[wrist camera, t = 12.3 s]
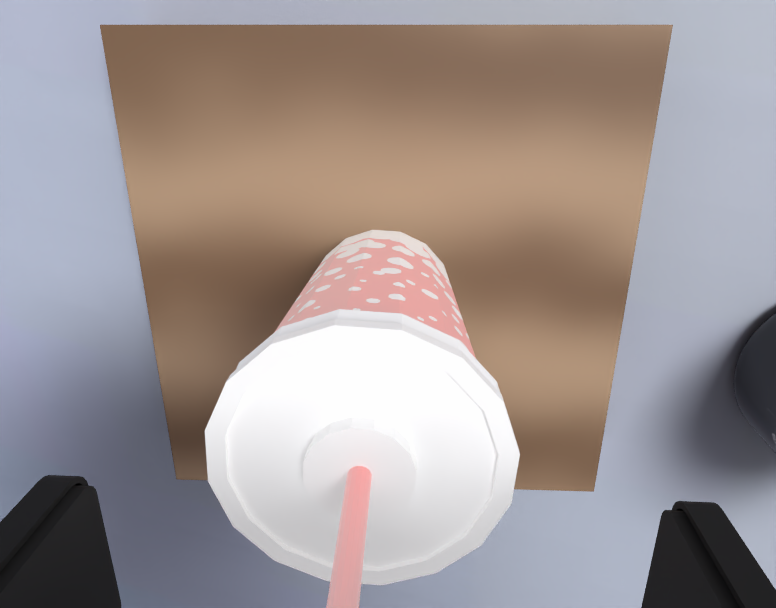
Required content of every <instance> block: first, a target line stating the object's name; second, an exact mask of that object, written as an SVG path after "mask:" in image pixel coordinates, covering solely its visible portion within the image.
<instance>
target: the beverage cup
mask: <svg viewBox="0 0 776 608" xmlns="http://www.w3.org/2000/svg"><path fill="white" fill-rule="evenodd" d="M205 444H206V459H207V474H208V482H209V484H210V486H211V488H212V490H213V491H214V493H215V495H216V497H217V499H218V500H219V502H220V504H221V506H222V508H223V509H224V511H225V513H226V515H227V517H228V518H229V520H230V522H231V524H232V526H233V527H234V528H235V529H237V530H238V531H239V532H240V533H241V534H243V535H244V536H245V537H246V538H248V539H249V540H250V541H251V542H252V543H254V544H255V545H256V546H257V547H258V548H260V549H261V550H262V551H263V552H264V553H266V554H267V555H268V556H269V557H270V558H272V559H273V560H274V561H276V562H279V563H281V564H284V565H286V566H289V567H292V568H294V569H297V570H299V571H302V572H304V573H307V574H309V575H312V576H315V577H317V578H320V579H322V580H325V581H330V587H329V593H328V600H327V606H326V608H359V601H360V591H361V584H371V585H386V584H391V583H395V582H400V581H404V580H409V579H413V578H417V577H422V576H426V575H431V574H435V573H437V572H439V571H441V570H442V569H444V568H445V567H447V566H449V565H450V564H452V563H454V562H455V561H457V560H458V559H460V558H462V557H463V556H465V555H467V554H468V553H470V552H471V551H473V550H475V549H476V548H478V547H480V546H481V545H482V544H483V542H484V541H485V540H486V538H487V537H488V535H489V534H490V533H491V531H492V530H493V529H494V527H495V526H496V524H497V523H498V522H499V520H500V519H501V518H502V516H503V515H504V514H505V512H506V511H507V509H508V508H509V507H510V505H511V502H512V497H513V491H514V486H515V480H516V474H517V469H518V463H519V457H520V452H519V449H518V445H517V442H516V439H515V435H514V432H513V429H512V426H511V423H510V419H509V416H508V413H507V410H506V407H505V403H504V400H503V397H502V394H501V393H500V390H499V387H498V384H497V381H496V380H495V379H494V378H493V377H492V376H491V375H490V374H489V372H488V371H487V370H486V369H485V368H484V367H483V366H482V365H481V364H480V363H479V362H478V360H477V359H476V357H475V354H474V351H473V349H472V346H471V343H470V340H469V337H468V334H467V331H466V328H465V325H464V322H463V319H462V316H461V314H460V311H459V308H458V305H457V302H456V299H455V296H454V293H453V290H452V287H451V284H450V281H449V278H448V276H447V273H446V270H445V267H444V264H443V263H442V262H441V261H440V260H439V258H438V257H437V256H436V255H435V254H434V253H433V252H432V250H431V249H430V248H429V247H428V246H427V245H426V244H425V243H423V242H421V241H419V240H417V239H415V238H412V237H410V236H408V235H406V234H404V233H402V232H398V231H384V230H370V231H367V232H364V233H361V234H358V235H355V236H351V237H348V238H346V239H345V240H343V241H342V242H341V243H340V244H339V245H338V246H336V247H335V248H334V249H333V250H332V251H331V252H330V253H328V254H327V255H326V256H325V258H324V259H323V261H322V262H321V264H320V265H319V267H318V268H317V270H316V271H315V273H314V274H313V276H312V277H311V278H310V280H309V281H308V283H307V284H306V286H305V287H304V289H303V290H302V292H301V293H300V295H299V296H298V298H297V299H296V301H295V302H294V304H293V305H292V307H291V308H290V310H289V311H288V313H287V314H286V316H285V317H284V319H283V320H282V322H281V323H280V325H279V326H278V328H277V329H276V331H275V332H274V333H273V334H272V335H271V336H270V337H269V338H267V339H266V340H265V341H264V342H263V343H262V344H260V345H259V346H258V347H257V348H256V349H254V350H253V351H252V352H251V353H250V354H249V355H247V356H246V357H245V358H244V359H243V360H241V361H240V362H239V364H238V366H237V368H236V370H235V371H234V372H233V373H232V374H230V376H229V378H228V380H227V381H226V383H225V386H224V388H223V390H222V392H221V395H220V397H219V399H218V402H217V404H216V406H215V408H214V411H213V413H212V415H211V417H210V420H209V422H208V424H207V427H206V429H205Z"/></svg>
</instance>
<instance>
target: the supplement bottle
mask: <svg viewBox="0 0 776 608" xmlns="http://www.w3.org/2000/svg"><path fill="white" fill-rule="evenodd" d="M734 391H735V396H736V400H737V403H738V406H739V408H740V410H741V412H742V414H743V415H744V417H745V418H746V420H747V421H748V422H749V423H750V425H751V426H752V427H753V428H754V429H755V430H756V432H757V433H758V434H759V435H760V436H761V438H762V439H763V440H764V441H765V442H766V443H767V444H768V445H769V446H770V448H771V449H772V450H773V451H774V452H775V453H776V313H775V314H773V315H772V316H771V317H769V318H768V319H767V320H766V321H765V322H764V323H763V324H762V325H761V326H760V327H759V328H758V329H757V330H756V331H755V332H754V333H753V335H752V336H751V337H750V339H749V340H748V342H747V343H746V345H745V346H744V348H743V350H742V352H741V354H740V357H739V359H738V362H737V365H736V370H735V376H734Z"/></svg>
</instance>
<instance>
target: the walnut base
mask: <svg viewBox="0 0 776 608" xmlns="http://www.w3.org/2000/svg"><path fill="white" fill-rule="evenodd" d="M672 27H673V25H100V29H101V34H102V40H103V46H104V52H105V58H106V64H107V70H108V76H109V82H110V88H111V94H112V100H113V106H114V111H115V117H116V123H117V129H118V135H119V141H120V147H121V153H122V159H123V165H124V171H125V177H126V183H127V189H128V194H129V200H130V206H131V212H132V218H133V224H134V230H135V236H136V242H137V248H138V254H139V260H140V266H141V271H142V277H143V283H144V289H145V295H146V301H147V307H148V313H149V319H150V325H151V331H152V337H153V343H154V348H155V354H156V360H157V366H158V372H159V378H160V384H161V390H162V396H163V402H164V408H165V414H166V420H167V425H168V431H169V437H170V443H171V449H172V455H173V461H174V467H175V473H176V479H181V480H208V474H207V459H206V444H205V429H206V427H207V424H208V422H209V420H210V417H211V415H212V413H213V411H214V408H215V406H216V404H217V402H218V399H219V397H220V395H221V392H222V390H223V388H224V386H225V383H226V381H227V380H228V378H229V376H230V374H232V373H233V372H234V371H235V370H236V368H237V366H238V364H239V362H240V361H241V360H243V359H244V358H245V357H246V356H247V355H249V354H250V353H251V352H252V351H253V350H254V349H256V348H257V347H258V346H259V345H260V344H262V343H263V342H264V341H265V340H266V339H267V338H269V337H270V336H271V335H272V334H273V333H274V332H275V331H276V329H277V328H278V326H279V325H280V323H281V322H282V320H283V319H284V317H285V316H286V314H287V313H288V311H289V310H290V308H291V307H292V305H293V304H294V302H295V301H296V299H297V298H298V296H299V295H300V293H301V292H302V290H303V289H304V287H305V286H306V284H307V283H308V281H309V280H310V278H311V277H312V276H313V274H314V273H315V271H316V270H317V268H318V267H319V265H320V264H321V262H322V261H323V259H324V258H325V256H326V255H327V254H328V253H330V252H331V251H332V250H333V249H334V248H335V247H336V246H338V245H339V244H340V243H341V242H342V241H343V240H345V239H346V238H348V237H351V236H355V235H358V234H361V233H364V232H367V231H370V230H384V231H398V232H402V233H404V234H406V235H408V236H410V237H412V238H415V239H417V240H419V241H421V242H423V243H425V244H426V245H427V246H428V247H429V248H430V249H431V250H432V252H433V253H434V254H435V255H436V256H437V257H438V258H439V260H440V261H441V262H442V263H443V264H444V267H445V270H446V273H447V276H448V278H449V281H450V284H451V287H452V290H453V293H454V296H455V299H456V302H457V305H458V308H459V311H460V314H461V316H462V319H463V322H464V325H465V328H466V331H467V334H468V337H469V340H470V343H471V346H472V349H473V351H474V354H475V357H476V359H477V360H478V362H479V363H480V364H481V365H482V366H483V367H484V368H485V369H486V370H487V371H488V372H489V374H490V375H491V376H492V377H493V378H494V379H495V380H496V381H497V384H498V387H499V390H500V393H501V394H502V397H503V400H504V403H505V407H506V410H507V413H508V416H509V419H510V423H511V426H512V429H513V432H514V435H515V439H516V442H517V445H518V449H519V452H520V457H519V463H518V469H517V474H516V480H515V486H514V489H527V490H561V491H594V487H595V481H596V475H597V469H598V463H599V457H600V452H601V446H602V440H603V434H604V428H605V422H606V416H607V410H608V404H609V398H610V393H611V387H612V381H613V375H614V369H615V363H616V357H617V351H618V345H619V339H620V334H621V328H622V322H623V316H624V310H625V304H626V298H627V292H628V286H629V280H630V275H631V269H632V263H633V257H634V251H635V245H636V239H637V233H638V227H639V221H640V216H641V210H642V204H643V198H644V192H645V186H646V180H647V174H648V168H649V162H650V157H651V151H652V145H653V139H654V133H655V127H656V121H657V115H658V109H659V104H660V98H661V92H662V86H663V80H664V74H665V68H666V62H667V56H668V50H669V45H670V39H671V33H672Z"/></svg>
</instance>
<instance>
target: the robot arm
mask: <svg viewBox="0 0 776 608" xmlns="http://www.w3.org/2000/svg"><path fill="white" fill-rule="evenodd" d="M0 608H121V600H120V596H119V591H118V587H117V582H116V578H115V573H114V569H113V564H112V560H111V555H110V551H109V546H108V541H107V537H106V532H105V528H104V523H103V519H102V514H101V510H100V505H99V501H98V496H97V492H96V489H95V488H94V487H93V486H88V483H87V481H86V480H85V479H84V478H83V477H80V476H57V475H48V476H45V477H43V478H42V479H41V480H39V481H38V482H37V483H36V484H35V486H34V487H33V488H32V489H31V490H30V491H29V492H28V493H27V494H26V495H25V496H24V497H23V498H22V500H21V501H20V502H19V503H18V504H17V505H16V506H15V507H14V508H13V509H12V510H11V511H10V512H9V514H8V515H7V516H6V517H5V518H4V519H3V520H2V521H1V522H0ZM641 608H776V590H775V588H774V587H773V585H772V584H771V582H770V581H769V579H768V578H767V576H766V575H765V573H764V572H763V570H762V569H761V567H760V566H759V564H758V563H757V561H756V560H755V558H754V557H753V555H752V554H751V552H750V551H749V549H748V548H747V546H746V545H745V543H744V542H743V540H742V539H741V537H740V536H739V534H738V533H737V531H736V530H735V528H734V527H733V525H732V524H731V522H730V520H729V519H728V517H727V516H726V514H725V513H724V511H723V510H722V509H721V508H720V506H719V505H718V504H716V503H711V502H687V501H678V502H676V503H675V504H674V505H673V508H672V510H665V511H664V512H663V513H662V516H661V520H660V524H659V529H658V534H657V538H656V543H655V547H654V552H653V557H652V561H651V566H650V570H649V575H648V580H647V584H646V589H645V594H644V598H643V603H642V607H641Z"/></svg>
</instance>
